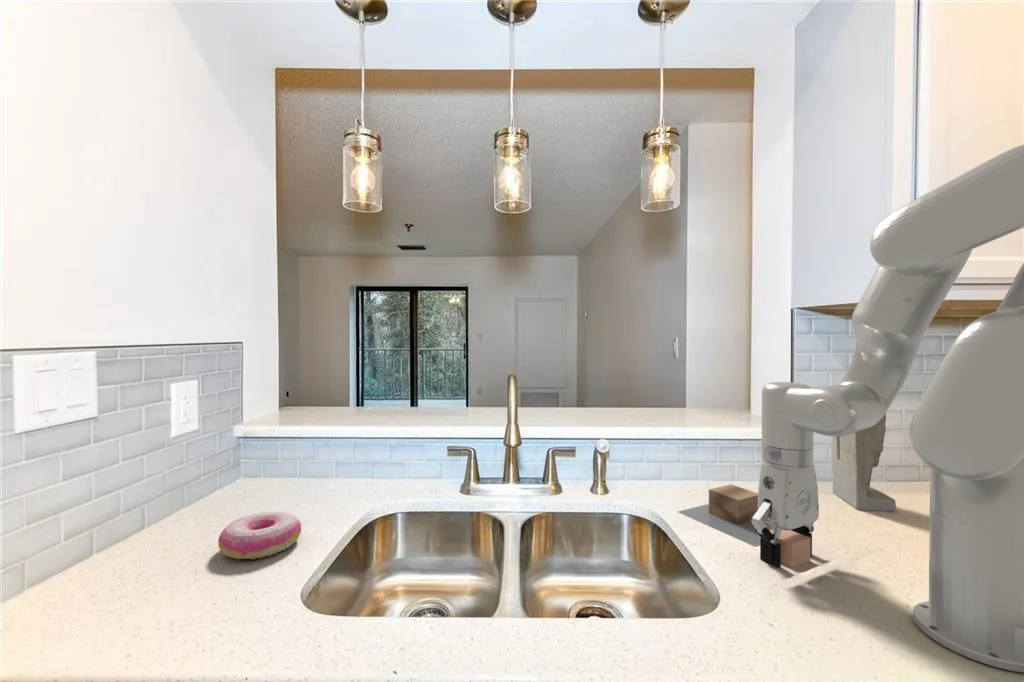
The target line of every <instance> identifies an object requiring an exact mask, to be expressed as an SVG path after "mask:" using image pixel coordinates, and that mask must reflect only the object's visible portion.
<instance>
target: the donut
mask: <svg viewBox="0 0 1024 682" xmlns="http://www.w3.org/2000/svg"><path fill="white" fill-rule="evenodd" d="M301 532H302V523H301V522H300V519H299V518H297V517H296V516H295V515H293V514H291V513H289V512H284V511H265V512H263V511H262V512H258V513H256V512H255V513H252V514H248V515H245V516H241V517H240V518H237V519H236V520H233V521H232V522H230V523H229V524H228V525H226V526H225V528H224V529H222V531H221V532H220V535H219V536H218V539H217V542H218V548H219V550H220V552H221V553H222V554H223V555H225V556H226V557H228V558H231V559H234V558H235V559H234V560H240V559H251V560H257V559H256V558H259V559H263V558H262V557H264V558H266V557H265V556H268V557H270V556H269V555H271V556H274V555H277V554H279V553H281V551H282V552H283V551H286V550H287V549H288V548H290V547H291V546H293V544H295V543H296V542H297V541H298V539H299V538H300V535H301ZM286 548H287V549H286ZM278 552H279V553H278ZM276 553H277V554H276ZM273 554H274V555H273Z"/></svg>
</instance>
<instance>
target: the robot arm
mask: <svg viewBox="0 0 1024 682" xmlns="http://www.w3.org/2000/svg"><path fill="white" fill-rule="evenodd" d="M1021 229H1023V230H1024V143H1023V144H1021V145H1017V146H1015V147H1013V148H1011V149H1008V150H1006V151H1004V152H1002V153H1000V154H997V156H996V155H995V156H994V157H992V158H990V159H988V160H986V161H985V162H983V163H981V164H979V165H977V166H975V167H974V168H971V169H970V170H968V171H966V172H964V173H961V174H960V175H959V176H957V177H955V178H954V179H951V180H949V181H948V182H946V183H943V184H941V185H940V186H938V187H936V188H934V189H932V190H931V191H928V192H927V193H924V194H923V195H921V196H919V197H917V198H915V199H913V200H912V201H911V202H909V203H906V204H905V205H903V206H900V208H898V209H896V210H894V211H893V212H891V213H890V214H889V215H888V216H886V217H885V218H884V219H883V220H882V221H880V223H879V224H878V225H877V227H876V228H875V229H874V231H873V234H872V235H871V238H870V247H869V249H870V253H871V256H872V258H873V259H874V261H875V262H876V263H877V266H876V269H875V271H874V273H873V275H872V277H871V279H870V280H869V283H868V284H867V286H866V288H865V290H864V292H863V294H862V295H861V298H860V299H859V301H858V304H857V305H856V307H855V308H854V310H853V312H852V316H851V324H852V329H853V331H854V334H855V337H856V344H855V345H856V346H855V351H854V354H853V357H852V359H851V362H850V364H849V366H848V367H847V369H846V371H845V373H844V376H843V377H842V378H841V381H840V382H839V384H837V385H835V384H834V385H830V386H824V387H823V386H822V387H810V386H809V385H807V384H805V383H800V382H793V381H792V382H788V381H774V382H768V383H766V384H765V385H763V387H762V389H761V390H762V391H761V462H762V463H761V468H760V472H759V480H758V492H757V493H758V511H757V512H756V513H755V515H754V516H753V517H752V519H751V522H752V524H753V526H754V527H755V531H756V532H757V534H758V537H759V538H760V545H759V546H760V547H759V548H760V549H759V551H760V552H759V557H760V558H759V559H760V561H762V562H764V563H767V564H769V565H771V566H773V567H775V568H777V569H780V568H781V565H782V563H781V544H780V543H778V540H779V537H780V534H781V532H782V529H783V530H786V531H788V530H792V531H794V532H797V533H799V534H802V535H804V536H807V537H810V557H811V556H812V555H813V532H814V531H815V527H814V523H815V522H817V521H818V520H819V515H820V514H819V513H820V511H819V510H820V504H819V491H818V490H819V489H818V488H819V487H818V479H817V471H816V469H815V464H814V434H819V435H821V436H822V435H823V436H827V437H832V436H833V437H839V436H845V435H848V434H851V433H854V432H857V431H859V430H863V429H867V428H869V427H872V426H873V425H875V424H876V423H877V422H879V421H880V420H881V418H882V417H883V416H884V415H885V413H886V414H887V412H888V410H889V408H890V407H891V406H892V404H893V402H894V400H895V399H896V397H897V395H898V394H899V392H900V391H901V389H902V387H903V385H904V383H905V381H906V379H907V377H908V375H909V373H910V371H911V368H912V366H913V363H914V360H915V358H916V356H917V354H918V351H919V348H920V344H921V340H922V338H923V336H924V335H925V333H926V332H927V330H928V327H929V326H930V324H931V322H932V321H933V319H934V317H935V315H936V314H937V313H938V310H939V309H940V307H942V304H943V302H944V301H945V299H946V297H947V295H948V293H949V292H950V291H951V289H952V288H953V286H954V284H955V282H956V280H957V279H958V277H959V276H960V274H961V272H962V270H963V269H964V268H965V265H966V263H967V261H968V260H969V258H970V256H971V255H972V251H973V250H974V249H976V248H978V247H981V246H983V245H986V244H987V243H990V242H992V241H995V240H997V239H1000V238H1002V237H1004V236H1005V237H1006V236H1007V235H1009V234H1012V233H1014V232H1016V231H1019V230H1021ZM909 439H910V443H911V445H912V448H913V450H914V451H915V453H916V455H917V456H918V457H919V458H920V460H921V461H923V463H925V464H926V465H927V466H929V467H930V469H931V473H930V486H929V487H930V489H929V536H928V537H929V540H928V541H929V547H928V550H929V551H928V553H929V554H928V557H929V558H928V561H929V562H928V601H927V600H926V601H922V602H920V603H919V602H918V603H917V604H916V605H915V606H914V608H913V610H912V618H913V621H914V623H915V625H917V627H918V628H919V629H920V630H921V631H922V632H923V633H924V634H926V635H927V636H928V637H929V638H931V639H933V640H934V641H935V642H937V643H939V644H940V645H942V646H943V647H945V648H947V649H949V650H951V651H953V652H954V653H957V654H959V655H961V656H964V657H966V658H968V659H971V660H974V661H976V662H979V663H982V664H984V665H987V666H992V667H995V668H998V669H1002V670H1007V671H1010V672H1014V673H1015V672H1016V673H1023V674H1024V262H1023V263H1022V265H1021V267H1020V268H1019V270H1018V271H1017V273H1016V275H1015V277H1014V278H1013V281H1012V283H1011V286H1010V287H1009V289H1008V291H1006V294H1005V296H1004V298H1003V299H1002V301H1001V302H1000V304H999V306H998V307H997V309H996V310H995V311H994V312H991V313H987V314H984V315H983V316H981V317H979V318H977V319H975V320H973V321H972V322H971V323H969V324H967V326H965V328H964V329H963V330H962V331H961V332H960V333H959V334H958V335H957V337H956V338H955V339H954V341H953V342H952V344H951V345H950V347H949V349H948V351H947V352H946V354H945V355H944V358H943V360H942V362H941V364H940V366H938V369H937V371H936V372H935V374H934V376H933V378H932V380H931V381H930V383H929V386H928V387H927V389H926V391H925V393H924V395H923V397H922V398H921V400H920V401H919V404H918V406H917V408H916V409H915V411H914V413H913V415H912V418H911V420H910V424H909ZM771 520H775V523H774V522H771ZM769 526H772V527H774V531H773V534H772V533H771V532H770V531H769V529H768V527H769Z"/></svg>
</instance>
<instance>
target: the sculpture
mask: <svg viewBox="0 0 1024 682" xmlns="http://www.w3.org/2000/svg"><path fill="white" fill-rule="evenodd" d="M886 421H887V412H886V413H885V415H884V416H883V417H882V418H881V420H880V421H879V422H877V423H876V424H875V425H873V426H872V427H869V428H867V429H863V430H859V431H857V432H854V433H851V434H848V435H845V436H839V437H833V436H831V464H832V465H831V469H832V470H831V472H832V493H833V494H834V495H835V496H837V497H839V498H840V499H841V500H843V501H845V502H846V503H847V504H848V505H850V506H852V507H853V508H855V509H857V510H864V511H883V512H884V511H885V512H896V511H897V505H896V504H897V503H896V499H895V498H893V497H890V496H889V495H887V494H885V493H884V492H882V491H880V490H878V489H876V488H875V487H873V486H871V481H872V474H873V469H874V468H877V467H878V466H879V463H880V457H881V455H882V453H883V451H884V442H885V435H886V432H887V427H886Z"/></svg>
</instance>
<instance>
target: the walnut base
mask: <svg viewBox="0 0 1024 682" xmlns="http://www.w3.org/2000/svg"><path fill="white" fill-rule="evenodd" d="M708 504H709V513H711V514H713V515H715V516H718V517H720V518H723V519H725V520H727V521H730V522H732V523H735V524H737V525H740V524H744V523H747V522H751V519H752V517H753V516H754V515H755V513H756V512H757V511H758V492H755V491H752V490H749V489H746V488H743V487H740V486H737V485H734V484H728V485H723V486H718V487H713V488H709V489H708Z"/></svg>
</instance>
